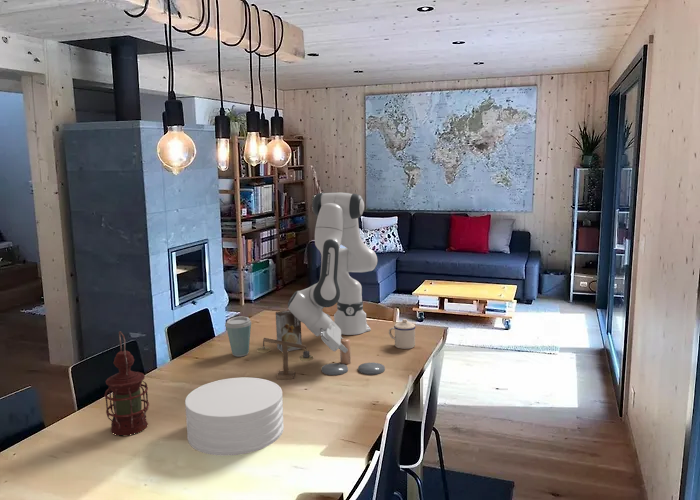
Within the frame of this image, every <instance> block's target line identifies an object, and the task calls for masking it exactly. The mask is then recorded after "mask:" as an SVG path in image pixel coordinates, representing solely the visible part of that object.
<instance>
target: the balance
mask: <svg viewBox="0 0 700 500" xmlns="http://www.w3.org/2000/svg"><path fill="white" fill-rule="evenodd" d="M262 343H263V346H261V347H258V348H257V349H256V351H257V353H260V354H264V353H265V354H266V353H267V354H268V353H269V352H271V351H272V348H271V347H269V346H265V343H270V344H276V345H277V344H280V345H282V346H283V352H282V368H283V370H279V371H277V376H276V380H293V379H294V378H295V373H296V372H295V371H296V370H291V369H290V370H289V358H288V357H289V355H288V353H289V351H288V349H287V346H291V347H296V348H302V349H303V350H304V351H302V354H301V356H299V360H300V361H302V362H310V361H312V360H314V356H313V355H311V353H310V351H309V350H307V345H305V344H302V345H300V344H295V343H290V342H284V341H279V340H277V339H274V338H273V339H271V338H268V337H263V339H262ZM302 349H301V350H302Z"/></svg>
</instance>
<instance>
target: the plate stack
mask: <svg viewBox="0 0 700 500" xmlns="http://www.w3.org/2000/svg"><path fill="white" fill-rule="evenodd" d="M283 401H284V399H283V390H282V388H281V386H280V385H279V384H277V383H276V382H275V381H271V380H268V379H265V378H258V377H247V376H246V377H244V376H243V377H231V378H230V377H229V378H222V379H219V380H215V381H211V382H208V383H205V384H202V385H200V386H199V387H196V388H195V389H193V390H191V392H190V393H188V394H187V396H186V397H185V401H184V405H185V417H186V418H185V419H186V420H185V422H186V432H187V433H186V434H187V435H186V437H187V442H188V444H189V445H190V447H192V448H193V449H194V450H196V451H198V452H200V453H203V454H206V455H212V456H238V455H243V454H248V453H254V452H256V451H259V450H262V449H264V448H266V447H268V446H271V444H273V443H275V442H277V440H278V439H280V437H281V436H282V435H283V432H284V426H285V425H284V406H283V405H284V404H283V403H284V402H283Z"/></svg>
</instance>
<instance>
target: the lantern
mask: <svg viewBox="0 0 700 500" xmlns="http://www.w3.org/2000/svg"><path fill="white" fill-rule="evenodd" d="M121 336H122V337H121ZM118 338H119V346H120V348H119V349H120V350H119V351H118V352H117V353H116V354H115V357H114V358H113V359H114V361H113V365H114V367H116V368H117V369H118V372H117V373H115V374H113V375H111V376H109V377H107V379H106V380H105V385H107V386H108V388H107V389H106V390H105V392H104V399H105V406H106V410H105V413H106V417H107V419H108V420H109V421H111V424H110V425H111V429H110V432H112V433H114V434H116V435H130V434H134V433H137V434H139V433H141V432H143V431H142V430H144V429H145V428H146V429H147V428H148V426H147V425H148V424H149V423H148V421H147V411H148V410H149V406H150V403H149V398H148V397H149V396H148V390H149V389H148V388H149V387H148V384H147V383H146V381H144V380H145V377H146V375H145V374H144V373H143V372H140V371H133V370H131V368H132V366H133V365H134V362H135V358H134V356H133V354H132V353H131V352H130V351H128V350H126V339H125V335H124V334H123V332H122V331H120V330H119V331H118ZM122 339H123V344H122ZM122 345H123V347H122ZM143 383H144V384H143ZM141 389H142V392H141ZM108 394H109V396H108ZM142 396H143V399H142ZM145 396H146V399H145ZM108 400H109V402H108ZM142 402H143V409H142ZM108 403H109V404H108ZM108 405H109V406H108ZM109 410H110V412H109ZM110 417H112V418H110ZM146 429H145V430H146ZM145 430H144V431H145ZM140 431H141V432H140ZM138 432H139V433H138ZM112 433H111V434H112ZM114 434H113V435H114ZM116 435H115V436H116ZM134 435H135V434H134Z"/></svg>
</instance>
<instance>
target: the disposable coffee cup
mask: <svg viewBox="0 0 700 500" xmlns="http://www.w3.org/2000/svg"><path fill="white" fill-rule="evenodd" d="M224 324H225V327H226V332H227V336H228V340H229V345H230V350H231V354H232V356H234V357H238V358H239V357H240V358H241V357H245V356H248V354H249V352H250V344H251V343H250V341H251V339H250V338H251V332H252V331H251V329H252V324H253V323H252V320H251V319H250V318H249V316H241V315H240V316H235V317H232V318H230V319H227V321H226V323H224Z"/></svg>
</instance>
